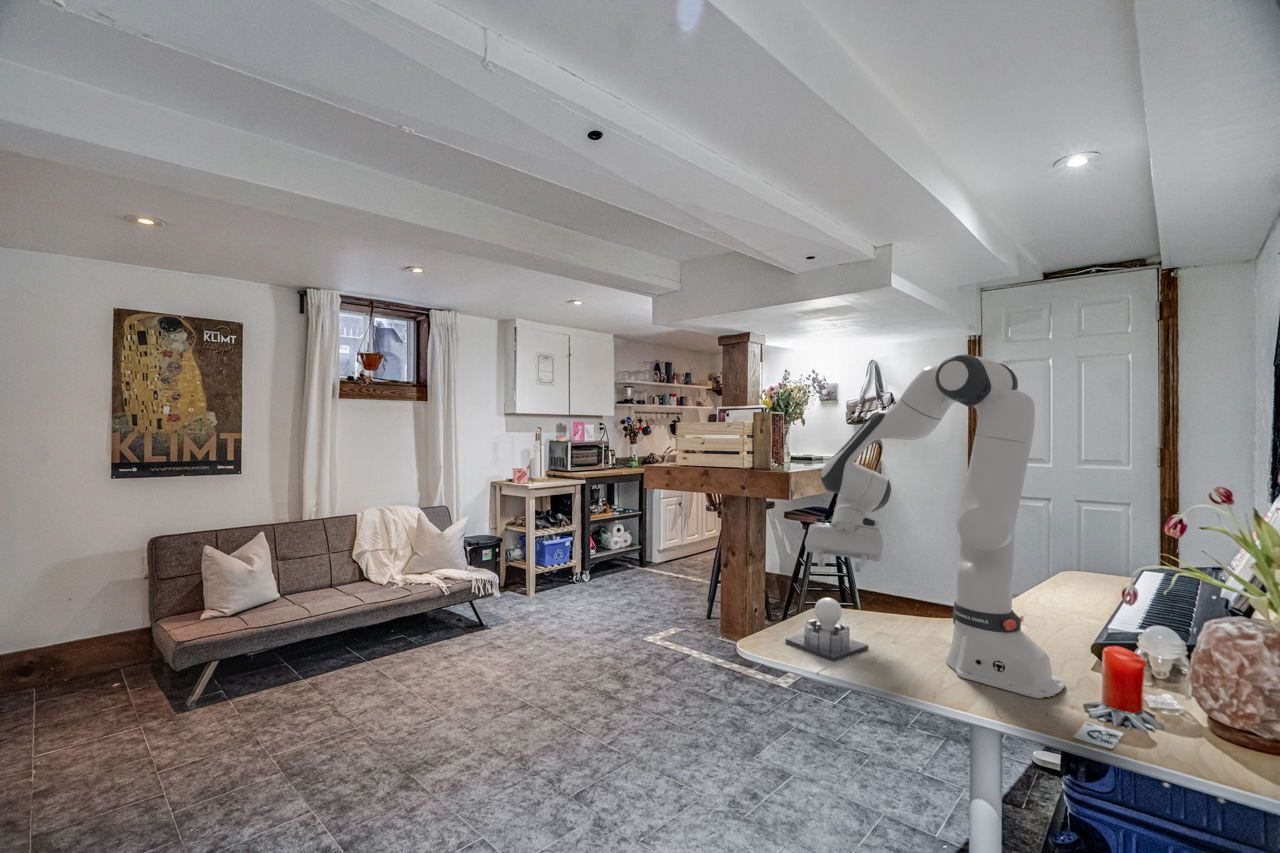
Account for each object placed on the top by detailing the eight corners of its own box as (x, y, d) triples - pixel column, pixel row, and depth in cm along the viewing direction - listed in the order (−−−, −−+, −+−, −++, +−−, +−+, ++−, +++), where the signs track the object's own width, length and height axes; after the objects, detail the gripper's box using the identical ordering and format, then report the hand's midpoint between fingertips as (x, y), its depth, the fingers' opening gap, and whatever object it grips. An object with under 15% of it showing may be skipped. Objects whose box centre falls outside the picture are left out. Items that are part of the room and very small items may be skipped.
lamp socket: (868, 649, 146) (868, 628, 146) (833, 662, 137) (834, 640, 137) (820, 631, 157) (821, 613, 157) (785, 642, 149) (786, 622, 149)
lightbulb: (814, 645, 145) (815, 600, 145) (813, 636, 151) (814, 593, 151) (841, 648, 143) (842, 603, 143) (840, 639, 149) (841, 595, 149)
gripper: (808, 514, 168) (797, 555, 160) (885, 522, 157) (878, 567, 149) (812, 528, 172) (801, 569, 164) (888, 536, 161) (880, 580, 153)
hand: (838, 568), depth 156 cm, fingers open, 8 cm apart
